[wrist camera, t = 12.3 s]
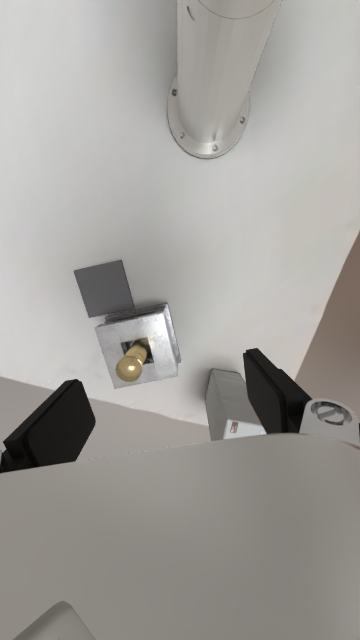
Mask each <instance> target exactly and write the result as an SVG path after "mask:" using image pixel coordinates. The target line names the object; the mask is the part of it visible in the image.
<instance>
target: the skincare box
mask: <svg viewBox="0 0 360 640" xmlns="http://www.w3.org/2000/svg"><path fill="white" fill-rule="evenodd" d="M205 405H206V411H207V417H208V424H209V430H210V436H211V441H216V440H223V439H230V438H237V437H245V436H254V435H263V434H266V432H265V430H264V428H263V426H262V424H261V422H260V420H259V419H258V417H257V415H256V413H255V411H254V409H253V407H252V405H251V403H250V402H249V399H248V395H247V387H246V383H245V381H244V379H243V378H242V376H241V374H240V373H234V372H228V371H222V370H216V369H212V370H211V374H210V379H209V384H208V389H207V394H206V399H205Z"/></svg>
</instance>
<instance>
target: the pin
mask: <svg viewBox="0 0 360 640" xmlns="http://www.w3.org/2000/svg"><path fill="white" fill-rule="evenodd" d="M149 349H150V344H149V341H148V337H146V338H141V339H136V340H135V341H134V343H133V344H132V346H131V347H130V349H129V350H128V352H127V353H126V354H125V356H124V357H123V358H121V359H120V360H119V362H118V363H117V365H116V369H115V370H116V374H117V376H118V377H119V378H120V379H121V380H123V381H125V382H133V381H136V380H137V379H138V378H139V377H140V375H141V373H142V370H143V364H144V361H145V359H146V357H147V354H148V352H149Z"/></svg>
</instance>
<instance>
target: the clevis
mask: <svg viewBox="0 0 360 640" xmlns="http://www.w3.org/2000/svg"><path fill="white" fill-rule="evenodd" d="M105 319H106V321H105V322H104V323H105V324H101V325H99V326H97V327H95V331H96V334H97V337H98V340H99V343H100V346H101V349H102V352H103V355H104V358H105V361H106V364H107V367H108V370H109V373H110V376H111V379H112V382H113V385H114V388H115V389H117V388H122V387H127V386H132V385H137V384H142V383H147V382H152V381H157V380H162V379H167V378H172V377H176V376H178V363H181V358H180V354H179V349H178V345H177V341H176V336H175V332H174V328H173V324H172V319H171V315H170V311H169V306H168V303H165V304H161V305H156V306H152V307H147V308H143V309H138V310H133V311H129V312H124V313H120V314H115V315H110V316H107V317H105ZM146 337H148V341H149V344H150V349H149V352H148V354H147V357H146V359H145V361H144V364H143V370H142V373H141V375H140V377H139V378H138V379H137V380H136V381H133V382H125V381H123V380H121V379H120V378H119V377H118V376H117V374H116V370H115V369H116V365H117V363H118V362H119V360H120V359H121V358H123V357H124V356H125V354H126V353H127V352H128V350H129V349H130V347H131V346H132V344H133V343H134V341H135V340H136V339H141V338H146Z"/></svg>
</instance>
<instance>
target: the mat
mask: <svg viewBox="0 0 360 640" xmlns="http://www.w3.org/2000/svg"><path fill="white" fill-rule="evenodd" d="M74 274H75V277H76V280H77V283H78V286H79V289H80V292H81V295H82V298H83V301H84V304H85V307H86V310H87V313H88V316H89V318H90V317H95V316H99V315H104V314H109V313H113V312H118V311H122V310H127V309H131V308H134V304H133V300H132V297H131V293H130V289H129V286H128V282H127V278H126V275H125V271H124V267H123V264H122V260H119V261H114V262H110V263H106V264H101V265H97V266H93V267H88V268H84V269H80V270H75V271H74Z"/></svg>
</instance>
